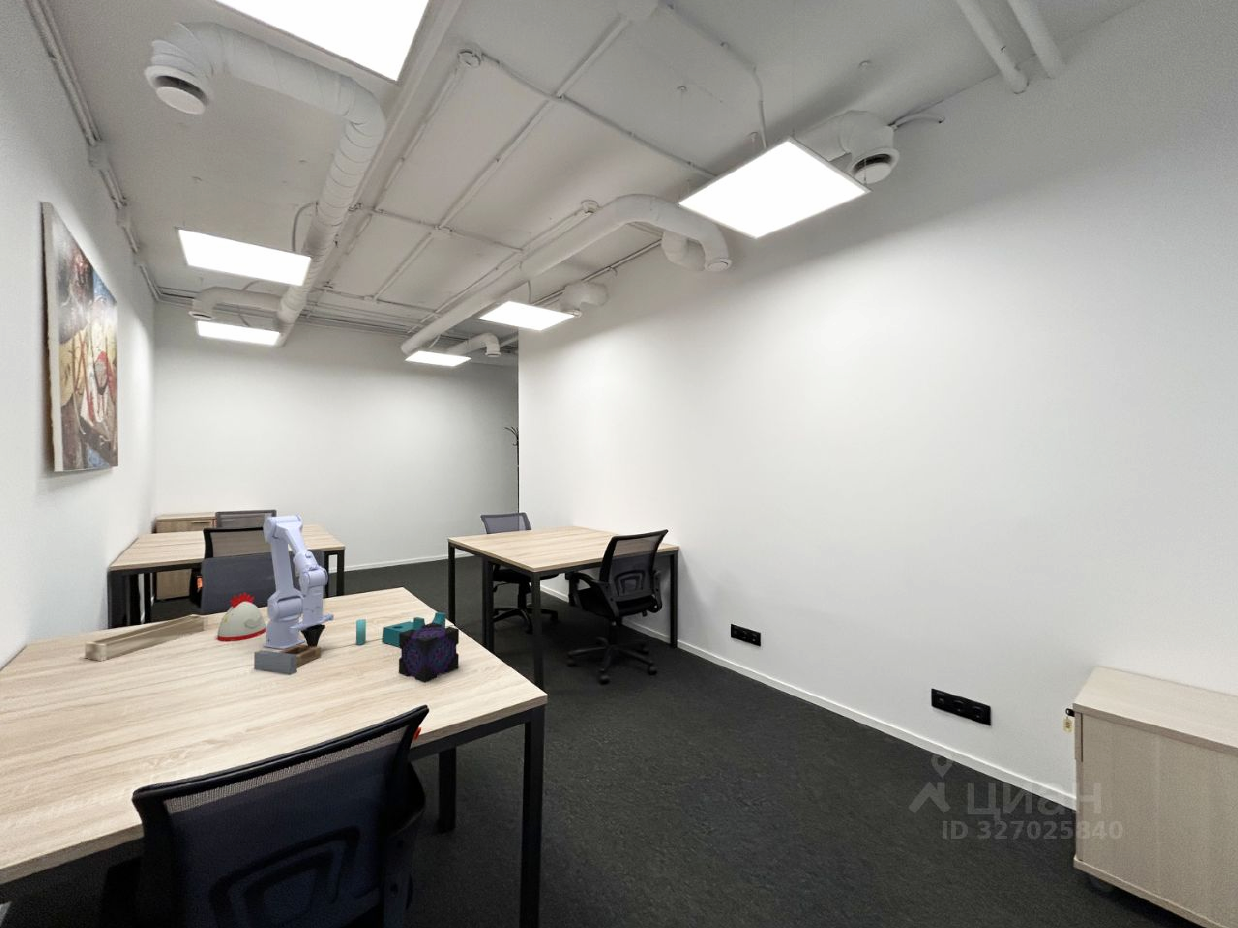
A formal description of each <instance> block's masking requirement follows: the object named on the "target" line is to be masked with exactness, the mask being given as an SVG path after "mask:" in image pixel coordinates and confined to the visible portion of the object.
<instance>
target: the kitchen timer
mask: <svg viewBox="0 0 1238 928" xmlns="http://www.w3.org/2000/svg"><path fill="white" fill-rule="evenodd" d="M254 600H255V596H252V597H251V594H248V595H247V592H243V594H242V593H239V594H238V597H237V595H233V600H231V599H230V600H229V603H230V605H231V607H230V608H229V609H228V610H227V611H226V612H225V614H224V615H223V616H222V618H221V620H220V623H219V626H218V630H217V632H216V633H217V636H216V637H217V640H218V641H219V642H226V643H227V642H228V643H230V642H240V641H245V640H249V639H253V638H256V637H259V636H262V635H263V634H266V626H267V623H266V621H265V618H264V615H263V614H262V612H261V610H260V609H259V607H257V606H256V604H253V602H254Z"/></svg>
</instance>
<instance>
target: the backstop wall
mask: <svg viewBox="0 0 1238 928" xmlns="http://www.w3.org/2000/svg"><path fill="white" fill-rule="evenodd" d="M279 652H280V651H271V650H263V649H260V650H257V651H254V655H253V656H254V658H253V659H254V660H253V661H254V663H253V669H254V670H259V671H266V672H271V673H277V674H285V675H293V674H295V673H297V671H298V667H297V655H293V654H286V653H279Z"/></svg>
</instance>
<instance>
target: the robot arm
mask: <svg viewBox="0 0 1238 928" xmlns="http://www.w3.org/2000/svg"><path fill="white" fill-rule="evenodd" d="M303 526H304V525H303V519H302V517H301V516H300V515H299V514H295V515H287V516H286V515H282V516H268V517H267V518H266V519H265V520H264V524H263V533H264V534H263V535H264V539H265V543H268V544H270V546H269V547H270V554H271V559H272V567H273V569H272V570H273V576H274V583H275V592H274V593H273V594H272V595H271V596H270V597H269V598H267V609H266V614H267V617H268V619H270V620H269V621H268V622H267V623H266V632H265V644H263V645H262V646H263V647H265V648H273V649H280V650H286V649H288V648H291V647H293V646H296V645H298V644H302V643H304V642H306V645H308V646H315V647H318V644H319V641H320V637H321V636H322V634H323V631H324V630H325V628H326V625H325V624H324V623H327V622H330V621H334V619H335V618H334V615H335V614H334V613H326V614H324V586H326V585H327V583H328V572H327V570H326V569H325V568H323V567H322V566H321V565H319V563H318V562H317V560H316V558H315V555H314V554H313V552H312V551H310V550H308V549H307V547H306V544H305V542H304V541H305V540H304V538H303V536H302V535H303V534H302V531H303ZM289 547H290V549H289ZM289 550H291V551H292V553H293V554H294V556H293V558H292V562H293V564H294V566H295V567H296V569H297V572H298V575H299V578H298V585H299V587H300V590H298V589H297V588H295V586H294V578H293V572H292V564H291V558H290V551H289ZM300 618H301V619H302V620H301V621H300ZM300 633H301V634H302V636H303V637H304V639H302V638H300Z"/></svg>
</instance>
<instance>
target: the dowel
mask: <svg viewBox="0 0 1238 928" xmlns="http://www.w3.org/2000/svg"><path fill="white" fill-rule="evenodd" d="M366 629H367V619H365V618H361V619H357V620H356V622H355V645H356V646H362V645H365V644H366V642H367V641H366V639H367V635H366V634H367V633H366V632H367V630H366Z"/></svg>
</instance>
